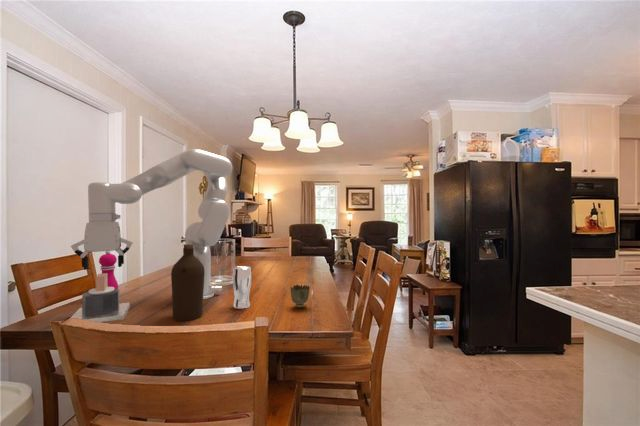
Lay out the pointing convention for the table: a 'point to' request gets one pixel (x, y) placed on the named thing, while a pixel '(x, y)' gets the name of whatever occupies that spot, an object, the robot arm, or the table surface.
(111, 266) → the pepper mill
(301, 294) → the cup
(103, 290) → the beige blocky piece
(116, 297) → the grey tub on base
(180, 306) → the olive oil
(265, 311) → the table surface
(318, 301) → the table surface
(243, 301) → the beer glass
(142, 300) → the table surface
